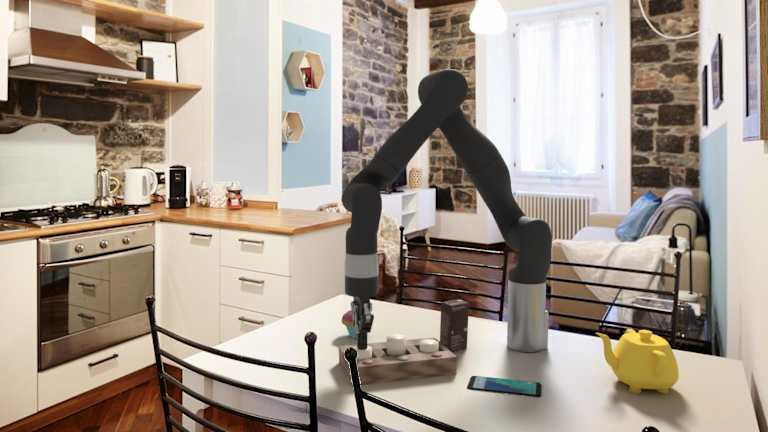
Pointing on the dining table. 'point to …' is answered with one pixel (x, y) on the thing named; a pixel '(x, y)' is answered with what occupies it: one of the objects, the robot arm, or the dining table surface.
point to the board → (401, 363)
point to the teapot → (642, 361)
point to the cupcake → (349, 323)
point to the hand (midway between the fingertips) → (361, 348)
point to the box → (454, 324)
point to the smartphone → (505, 386)
